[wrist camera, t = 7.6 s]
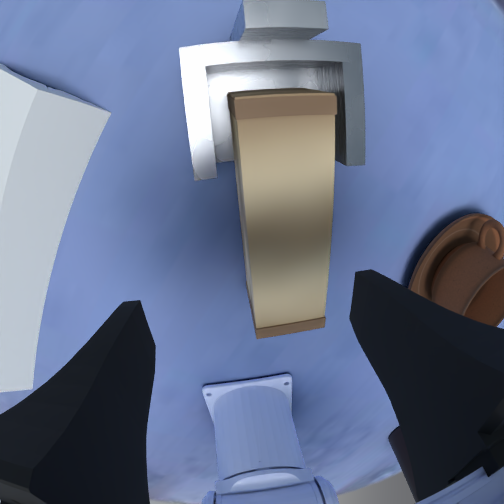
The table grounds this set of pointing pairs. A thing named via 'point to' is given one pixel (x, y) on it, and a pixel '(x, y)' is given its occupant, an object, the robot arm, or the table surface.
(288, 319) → the tan rectangular block
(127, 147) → the table surface
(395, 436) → the bottle
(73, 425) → the robot arm
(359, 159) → the bracket
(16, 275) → the crown molding
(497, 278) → the cup and saucer
